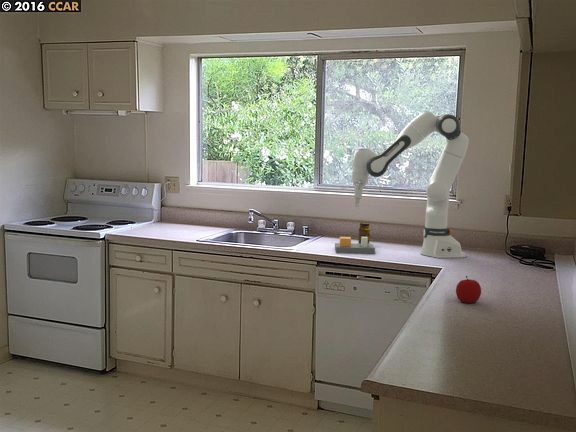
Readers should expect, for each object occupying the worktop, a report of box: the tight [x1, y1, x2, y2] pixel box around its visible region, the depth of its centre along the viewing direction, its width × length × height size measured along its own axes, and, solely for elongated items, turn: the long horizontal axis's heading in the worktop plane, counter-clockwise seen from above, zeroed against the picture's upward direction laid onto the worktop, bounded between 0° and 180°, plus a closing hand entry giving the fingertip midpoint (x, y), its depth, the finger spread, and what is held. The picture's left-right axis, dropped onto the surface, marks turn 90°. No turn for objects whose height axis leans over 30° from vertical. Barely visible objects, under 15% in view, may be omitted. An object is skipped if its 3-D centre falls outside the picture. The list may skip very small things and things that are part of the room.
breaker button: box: [361, 237, 368, 246], centre depth 322 cm, size 3×3×5 cm
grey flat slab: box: [334, 242, 376, 255], centre depth 323 cm, size 20×12×4 cm, turn 88°
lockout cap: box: [338, 236, 352, 246], centre depth 323 cm, size 6×6×4 cm
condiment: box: [357, 222, 371, 244], centre depth 341 cm, size 7×8×12 cm
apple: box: [455, 275, 482, 304], centre depth 231 cm, size 9×9×10 cm
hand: (356, 205), depth 323 cm, fingers open, 8 cm apart
